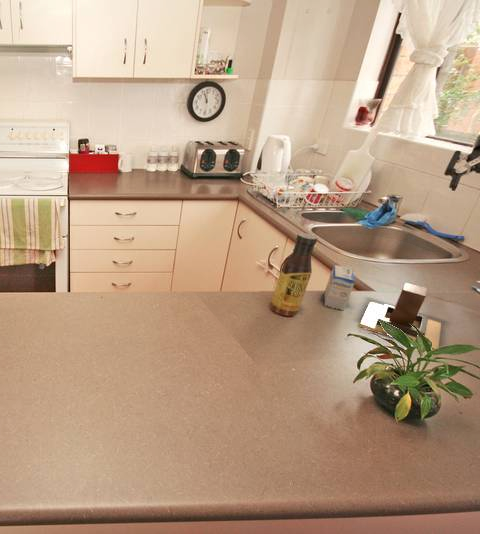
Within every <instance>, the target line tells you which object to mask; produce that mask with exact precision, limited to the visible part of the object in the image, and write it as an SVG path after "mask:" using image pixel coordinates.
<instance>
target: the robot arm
mask: <svg viewBox="0 0 480 534" xmlns="http://www.w3.org/2000/svg"><path fill="white" fill-rule="evenodd" d="M462 161H465V162H466V163H465V164H464V165H463V166H461V167H459V168H455V166H456V164H459V163H462ZM473 172H475V174H480V131H479V133H478V134H477V136H476V140H475V142H474V145H473V148H472V150H471V152H470V153H469V154H467V153H462V151H461V150H455V151H454V153H453V154H452V157H451V159H450V160H449V162H448V164H447V166H446V168H445V171H444V172H443V175H444V176H447V177H448V176H449V177H451V180H450V183H449V185H448V188H449V189H451V191H453V192H455V191H456V190H457V188H458V185H459V183H460V180H461V178H462V177H464V176H468V175H469V174H472V173H473Z"/></svg>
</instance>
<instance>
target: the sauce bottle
mask: <svg viewBox="0 0 480 534" xmlns="http://www.w3.org/2000/svg"><path fill="white" fill-rule="evenodd" d="M295 240H296V242H295V245H294V247H293V250H292V253H290V254H289V255H288V256H287V257H286V258H285V259H284V261H283V264H282V267H281V269H280V271H279V276H278V279H277V281H276V285H275V287H274V291H273V294H272V298H271V303H270V309H271V311H273V312H274V313H275V314H278V315H280V316H283V317H294V316H296V314H297V313H298V311H299V310H300V308H301V305H302V301H303V299H304V296H305V293H306V291H307V288H308V284H309V281H310V280H311V276H312V272H313V271H312V256H313V255H312V254H313V251H314V247H315V245H316V244H317V242H318V236H316V235H314V234H311V233H308V232H307V233H306V232H298V233H297V236H296V237H295Z"/></svg>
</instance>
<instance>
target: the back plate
mask: <svg viewBox="0 0 480 534" xmlns="http://www.w3.org/2000/svg"><path fill="white" fill-rule="evenodd" d="M394 307H395V306H393V305H390V304H387V303H383V305H382V304H379V303H376V302H372V301H370V302H369V304H368V305H367V308H366V310H365V312H364V314H363V316H362V318H361V320H360V323H359V325H358V328H360V327H363V328H367V329H370V330H373V331H375V332H380V333H382V334H384V335H385V336H384V335H383V336H384V337H387V336H388V337H387V338H390V339H393V338H392V337H390V336H389V335H387V333H386V332H385V331H384V330H383V328H382V326H381V324H380V322H379V321H378V320H382V321H384V322H387V323H389V324H391V325H393V326H395V327H397V328H399V329H401V330H402V331H403V332H404V333H406V334H407V335H408V336H409V337H410V338H412V339H413V340H415V339H416V338H417V335H418V333H417V331H416V330H415V329H414V328H413V327H408V326H405V325H402V324H399V323H395V322H392V321H389V320H390V317H391V314H392V312H393V310H394ZM413 325H414V326H416V327H417V329H418V330H419V331H420V332H421V333H422V334H423V335H424V336H425V337H426V338H428V339H429V340H430V341H431V342H432V350H434V349H436V348H438V349H439V347H440V339H441V331H442V323H441V322H439V321H435V320H432V319H429V316H426V315H423V314H420V313H418V314H417V316H416V318H415V320H414V323H413ZM363 328H362V329H363ZM375 332H374V333H375Z"/></svg>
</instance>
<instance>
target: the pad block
mask: <svg viewBox="0 0 480 534" xmlns="http://www.w3.org/2000/svg"><path fill="white" fill-rule="evenodd" d="M427 292H428V288H427V287H424V286H420V285H416V284H412V283H408V282H404V284H403V287H402V288H401V292H400V293H399V296H398V298H397V300H396V303H395V306H393V307H394V310H393V312H392V314H391V317H390V320H389V321H392V322H395V323H399V324H402V325H405V326H408V327H412V326H411V325H410V324H409V323H411V324H413V323H414V320H415V318H416V316H417V314H419V312H420V310H421V308H422V306H423V304H424V301H425V299H426V297H427Z"/></svg>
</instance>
